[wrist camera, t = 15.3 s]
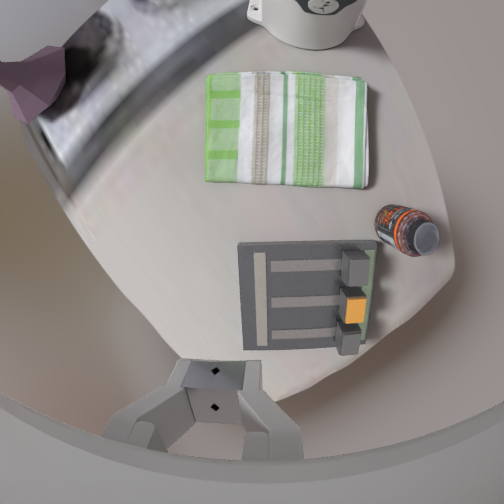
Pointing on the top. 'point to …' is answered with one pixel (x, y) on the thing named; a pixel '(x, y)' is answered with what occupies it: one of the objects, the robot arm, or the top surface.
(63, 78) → the flask
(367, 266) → the block
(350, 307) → the breaker mid
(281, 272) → the panel
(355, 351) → the block
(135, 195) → the top surface
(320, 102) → the dish towel
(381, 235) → the supplement bottle
